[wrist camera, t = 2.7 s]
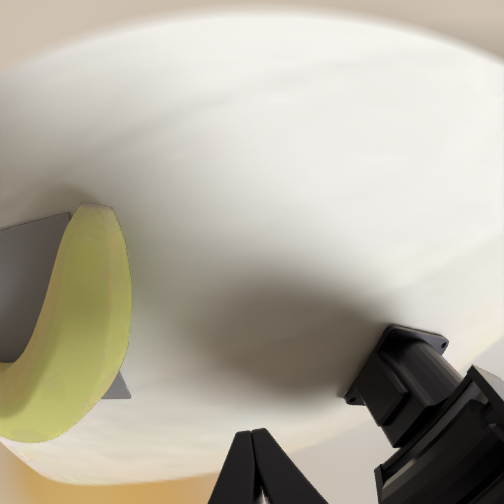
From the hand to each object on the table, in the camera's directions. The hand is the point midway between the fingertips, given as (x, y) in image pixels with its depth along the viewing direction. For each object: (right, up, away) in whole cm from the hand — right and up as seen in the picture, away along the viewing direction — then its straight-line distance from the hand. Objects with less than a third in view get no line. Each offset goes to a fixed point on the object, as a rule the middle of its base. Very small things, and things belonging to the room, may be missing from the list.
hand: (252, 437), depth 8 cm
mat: (-13, +1, +7) cm, 15 cm away
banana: (-15, +1, +7) cm, 17 cm away
